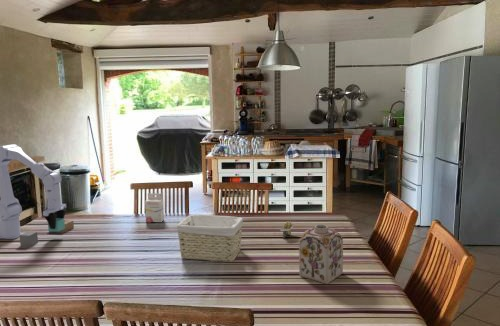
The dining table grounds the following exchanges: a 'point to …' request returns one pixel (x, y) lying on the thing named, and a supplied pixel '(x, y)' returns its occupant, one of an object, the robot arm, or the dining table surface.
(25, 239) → the gray cube
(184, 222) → the storage basket
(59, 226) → the teal cube
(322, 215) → the dining table surface
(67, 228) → the base block
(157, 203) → the ink cartridge box
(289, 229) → the small potted plant
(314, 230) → the decorative jar
